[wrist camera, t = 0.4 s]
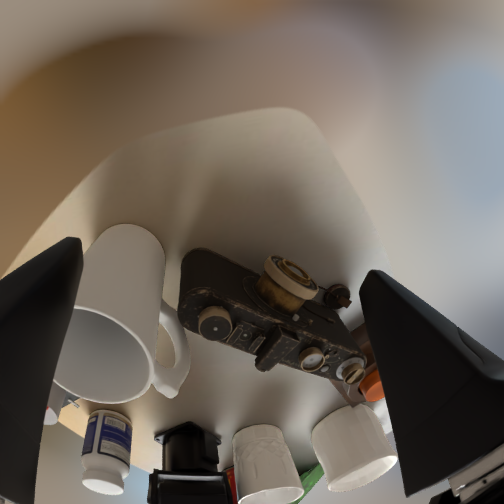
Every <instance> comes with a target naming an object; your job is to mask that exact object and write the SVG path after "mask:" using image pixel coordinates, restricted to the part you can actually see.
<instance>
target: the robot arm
mask: <svg viewBox="0 0 504 504" xmlns="http://www.w3.org/2000/svg"><path fill="white" fill-rule="evenodd" d="M83 267H84V260H83V251H82V242H81V240H80V239H79V238H75V237H66V238H64V239H63V240H61V241H59V242H58V243H56V244H55V245H53V246H51V247H50V248H48V249H46V250H45V251H43V252H42V253H40V254H39V255H37V256H35V257H34V258H32V259H31V260H29V261H28V262H26V263H25V264H23V265H22V266H20V267H19V268H17V269H16V270H14V271H13V272H11V273H10V274H8V275H7V276H5V277H4V278H2V279H1V280H0V504H4V503H5V500H6V501H9V502H11V503H14V504H34V498H35V483H36V474H37V465H38V457H39V450H40V444H39V443H40V442H41V436H42V430H43V425H44V420H45V414H46V409H47V405H48V400H49V396H50V391H51V387H52V383H53V379H54V375H55V371H56V367H57V363H58V360H59V356H60V353H61V349H62V346H63V342H64V339H65V336H66V332H67V329H68V326H69V323H70V320H71V317H72V313H73V309H74V305H75V301H76V296H77V292H78V288H79V284H80V280H81V276H82V272H83ZM359 297H360V301H361V306H362V311H363V315H364V320H365V325H366V330H367V334H368V338H369V341H370V345H371V348H372V352H373V355H374V359H375V362H376V366H377V369H378V373H379V377H380V380H381V384H382V388H383V392H384V396H385V400H386V404H387V408H388V412H389V416H390V420H391V424H392V429H393V433H394V438H395V442H396V448H397V452H398V458H399V462H400V468H401V473H402V478H403V484H404V490H405V495H406V497H407V498H408V497H410V496H413V495H415V494H417V493H419V492H422V491H424V490H426V489H428V488H430V487H432V486H435V485H437V484H438V483H440V482H442V481H445V480H446V479H448V481H449V484H450V487H451V488H449V489H448V490H446V491H444V492H442V493H440V494H438V495H436V496H434V497H432V498H431V500H430V502H429V504H504V361H503V360H502V359H501V358H499V357H498V356H497V355H495V354H494V353H492V352H491V351H489V350H488V349H487V348H485V347H484V346H483V345H481V344H480V343H479V342H477V341H476V340H474V339H473V338H472V337H470V336H469V335H468V334H467V333H465V332H464V331H462V330H461V329H460V328H459V327H457V326H456V325H455V324H454V323H452V322H451V321H450V320H449V319H447V318H446V317H444V316H443V315H442V314H441V313H439V312H438V311H437V310H435V309H434V308H433V307H431V306H430V305H429V304H427V303H426V302H424V301H423V300H422V299H420V298H419V297H418V296H416V295H415V294H414V293H412V292H411V291H409V290H408V289H407V288H405V287H404V286H403V285H401V284H400V283H398V282H397V281H396V280H394V279H393V278H391V277H390V276H389V275H387V274H386V273H384V272H383V271H381V270H370V271H369V272H368V274H367V275H366V277H365V279H364V281H363V283H362V285H361V287H360V290H359ZM154 440H155V441H157V442H158V443H160V444H162V445H163V450H162V470H158V469H154V473H152V474H150V475H149V489H148V496H147V503H148V504H233V497H232V492H231V488H230V484H229V480H228V476H227V472H226V471H222V472H218V470H217V464H219V456H218V448H217V446H218V445H220V444H221V440H220V439H218V438H216V437H215V436H213V435H212V434H210V433H208V432H207V431H205V430H203V429H202V428H200V427H199V426H197V425H196V424H194V423H192V422H186V423H184V424H182V425H180V426H177V427H175V428H173V429H170V430H168V431H165V432H163V433H161V434H158V435H156V436H154Z"/></svg>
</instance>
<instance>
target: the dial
mask: <svg viewBox="0 0 504 504" xmlns="http://www.w3.org/2000/svg"><path fill="white" fill-rule="evenodd" d="M66 392H67V391H66V390H65V389H63V388H62V387H60V386H59V385H58V384H56V383H55V382H54V381H53V383H52V387H51V391H50V396H49V400H48V405H47V409H46V414H45V420H44V424H45V425H53V424H55V423H56V422H57V421H58V417H59V414H60V411H61V408H62V404H63V401H64V398H65V395H66Z"/></svg>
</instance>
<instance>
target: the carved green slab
mask: <svg viewBox="0 0 504 504" xmlns="http://www.w3.org/2000/svg"><path fill="white" fill-rule="evenodd" d="M323 475H324V470H323V468H322V466H321V464H320V463H319V464H318V465H316V466H315V467H314V468H312V469H311V470H310V471H308V472H307V471H306V472H305V473H303V475H301V476H299V478H300V480H301V483H302V486H303V488H304V494H303V495H302V496H301V497H300V498H299V499H297V500H295V501H293V502H291V503H289V504H298V503H299V502H300V501H301V500H302V499H303V498H304V496H305V495H306V494H307V493H308V492H309V491H310V490H311V489H312V487H313V486H314V485H315V484H316V483H317V482H318V481H319V479H320V478H321V477H322V476H323Z"/></svg>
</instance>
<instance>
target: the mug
mask: <svg viewBox="0 0 504 504" xmlns="http://www.w3.org/2000/svg"><path fill="white" fill-rule="evenodd" d="M83 260H84V267H83V272H82V276H81V280H80V284H79V288H78V292H77V296H76V301H75V305H74V309H73V313H72V317H71V320H70V323H69V326H68V329H67V332H66V336H65V339H64V342H63V346H62V349H61V353H60V356H59V360H58V363H57V367H56V371H55V375H54V379H53V381H54V382H55V383H56V384H58V385H59V386H60V387H62V388H63V389H65V390H66V391H68V392H70V393H72V394H74V395H76V396H78V397H80V398H83V399H86V400H89V401H93V402H98V403H105V404H117V403H124V402H128V401H131V400H134V399H136V398H138V397H140V396H141V395H143V394H144V393H145V392H146V391H147V390H148V389H149V387H150V385H151V383H153V385H154V386H155V388H156V390H157V391H159V392H160V393H162V394H164V395H165V396H166V397H168V398H173V397H175V396H176V395H177V394H178V393H179V388H180V386H181V385H182V383H183V382H184V381H185V379H186V377H187V376H188V374H189V371H190V365H191V356H190V349H189V345H188V341H187V338H186V334H185V331H184V328H183V326H182V324H181V323H180V322H179V320H178V316H177V311H176V310H175V309H173V308H172V307H171V306H169V305H168V304H167V303H166V302H165V301H164V300H163V299H162V290H163V283H164V274H165V255H164V251H163V248H162V246H161V244H160V243H159V241H158V240H157V239H156V237H155V236H154V235H153V234H152V233H150V232H149V231H148V230H146V229H144V228H142V227H140V226H137V225H133V224H119V225H115V226H112V227H110V228H108V229H106V230H105V231H104V232H103V233H102V234H101V235H100V236H99V237H98V238H97V239H96V240H95V242H94V243H93V244H92V245H91V246H90V247H89V249H88V250H87V251H86V252H85V254H84V255H83ZM159 323H161V324H162V326H163V327H164V328H165V329H166V331H167V332H168V334H169V336H170V337H171V340H172V342H173V345H174V349H175V356H176V360H175V364H174V366H173V368H166V367H163V366H162V365H160V364H159V363H158V362H157V361H156V359H155V356H156V346H157V335H158V325H159Z"/></svg>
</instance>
